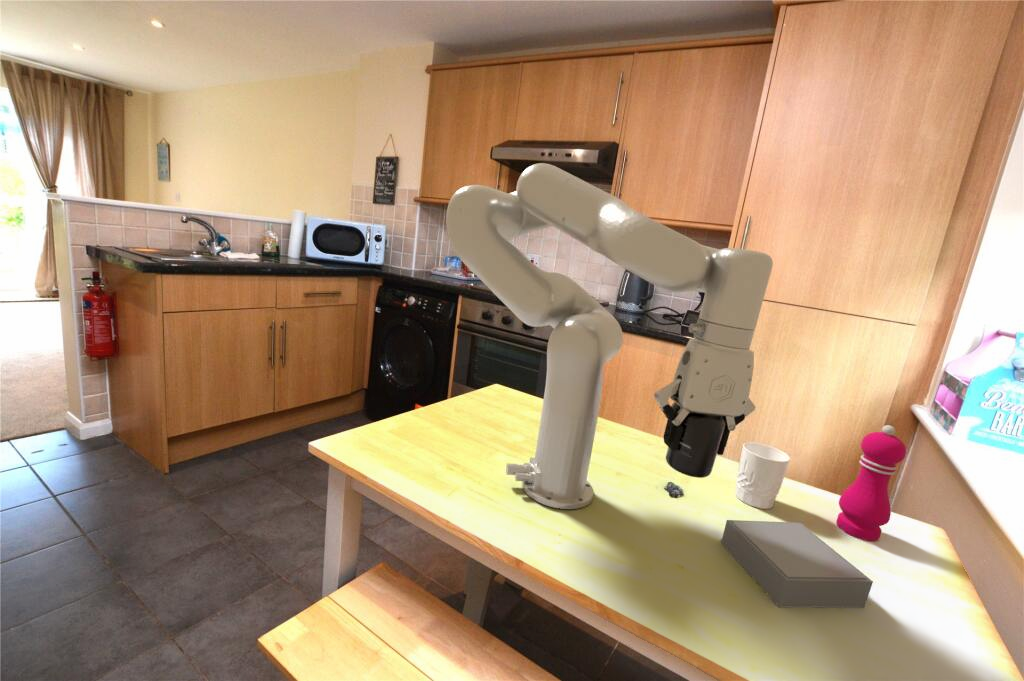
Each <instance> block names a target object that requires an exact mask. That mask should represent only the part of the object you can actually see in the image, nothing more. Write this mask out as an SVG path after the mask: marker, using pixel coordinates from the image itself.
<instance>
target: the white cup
mask: <svg viewBox="0 0 1024 681" xmlns="http://www.w3.org/2000/svg"><path fill="white" fill-rule="evenodd" d="M790 460H791V457H790V456H789V455H788V454H787V453H786V452H784V451H782V450H780V449H779V448H776V447H774V446H771V445H769V444H764V443H759V442H753V441H752V442H751V441H750V442H749V441H748V442H744V443H743V444H742V448H741V454H740V458H739V464H738V469H737V474H736V483H735V484H736V485H735V488H734V495H735V497H736V498H737V499H738V500H739V501H741V502H743V503H745V504H747V505H749V506H750V507H754V508H757V509H762V510H763V509H764V510H770V509H772V508H773V507H774V504H775V502H776V498H777V496H778V495H779V492H780V489H781V487H782V485H783V481H784V478H785V475H786V473H787V470H788V467H789V464H790Z"/></svg>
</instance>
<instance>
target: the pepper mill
mask: <svg viewBox="0 0 1024 681" xmlns="http://www.w3.org/2000/svg"><path fill="white" fill-rule="evenodd" d="M896 432H897V431H896V428H895V427H894V426H892V425H889V424H887V425H886V424H885V425H884V426H883V427H882V428H881V431H873V432H870V433H868V434H866V435H865V436H864V437H863V438H862V441H861V444H860V448H861V450H862V452H863V454H862V455H860V460H859V462H858V463H859V464H860V465H861V466H860V471H859V473H858V475H857V478H856V479H855V481H853V483H851V485H849V486H848V487H847V488H846V489H845V490H844V491H843V492H842V494H840V497H839V499H838V506H839V508H840V510H841V511H842V512H839V513H838V515H837V518H836V525H837V528H839V529H840V530H842V531H843V532H844V533H846V534H848V535H850V536H852V537H854V538H857V539H859V540H863V541H866V542H877V541H879V540H880V538H881V534H882V529H881V527H882V526H884V525H887V524H888V523H889V522H890V520H891V515H892V514H891V510H892V509H891V504H890V500H889V499H890V498H889V493H888V491H889V490H888V486H889V483H890V482H889V481H890V480H891V477H892V476H893V475H894V476H895V475H896V473H897V471H896V470H898V466H897V464H898V463H901V462H903V461H904V459H905V457H906V454H907V448H906V445H905V443H904V442H903V441H902V440H901V439H900V438H898V437H897V436H895V434H896Z"/></svg>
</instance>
